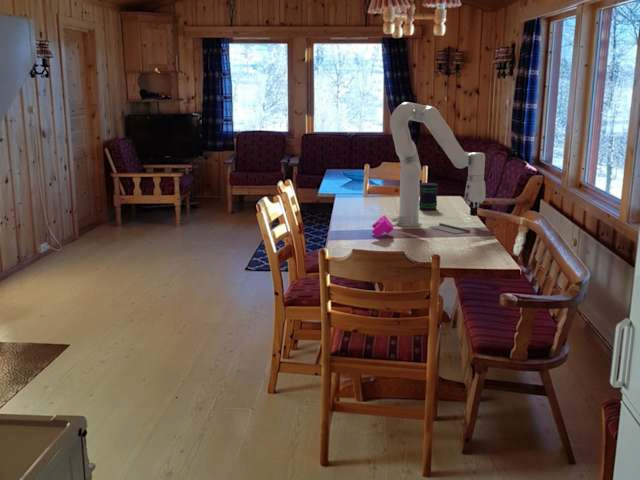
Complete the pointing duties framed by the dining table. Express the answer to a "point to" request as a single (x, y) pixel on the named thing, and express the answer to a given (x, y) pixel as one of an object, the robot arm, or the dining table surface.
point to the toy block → (382, 226)
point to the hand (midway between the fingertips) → (473, 215)
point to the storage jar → (428, 196)
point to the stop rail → (454, 227)
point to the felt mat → (447, 229)
